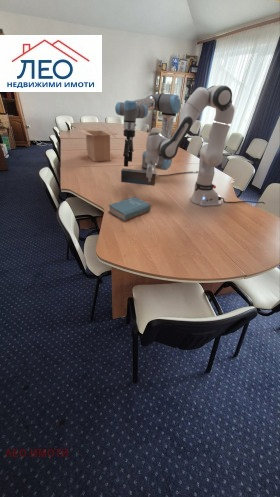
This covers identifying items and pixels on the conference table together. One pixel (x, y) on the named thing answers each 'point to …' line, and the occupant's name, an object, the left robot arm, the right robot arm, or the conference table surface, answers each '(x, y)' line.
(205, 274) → the conference table surface
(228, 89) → the right robot arm
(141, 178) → the bar
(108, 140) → the box
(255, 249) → the conference table surface
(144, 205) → the book
